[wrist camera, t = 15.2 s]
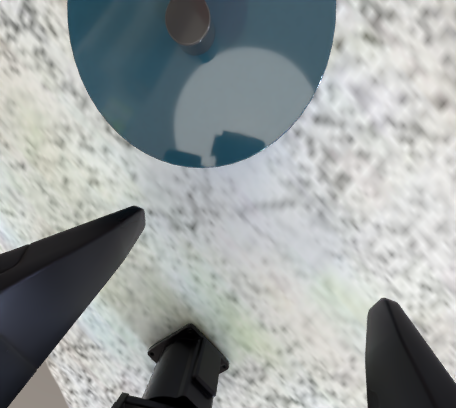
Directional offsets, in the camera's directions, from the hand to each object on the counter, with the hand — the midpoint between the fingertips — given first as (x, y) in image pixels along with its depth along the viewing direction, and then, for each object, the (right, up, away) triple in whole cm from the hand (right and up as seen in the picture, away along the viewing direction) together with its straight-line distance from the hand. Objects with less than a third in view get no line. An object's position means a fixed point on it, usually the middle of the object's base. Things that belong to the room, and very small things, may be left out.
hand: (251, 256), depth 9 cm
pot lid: (-3, +11, +4) cm, 12 cm away
